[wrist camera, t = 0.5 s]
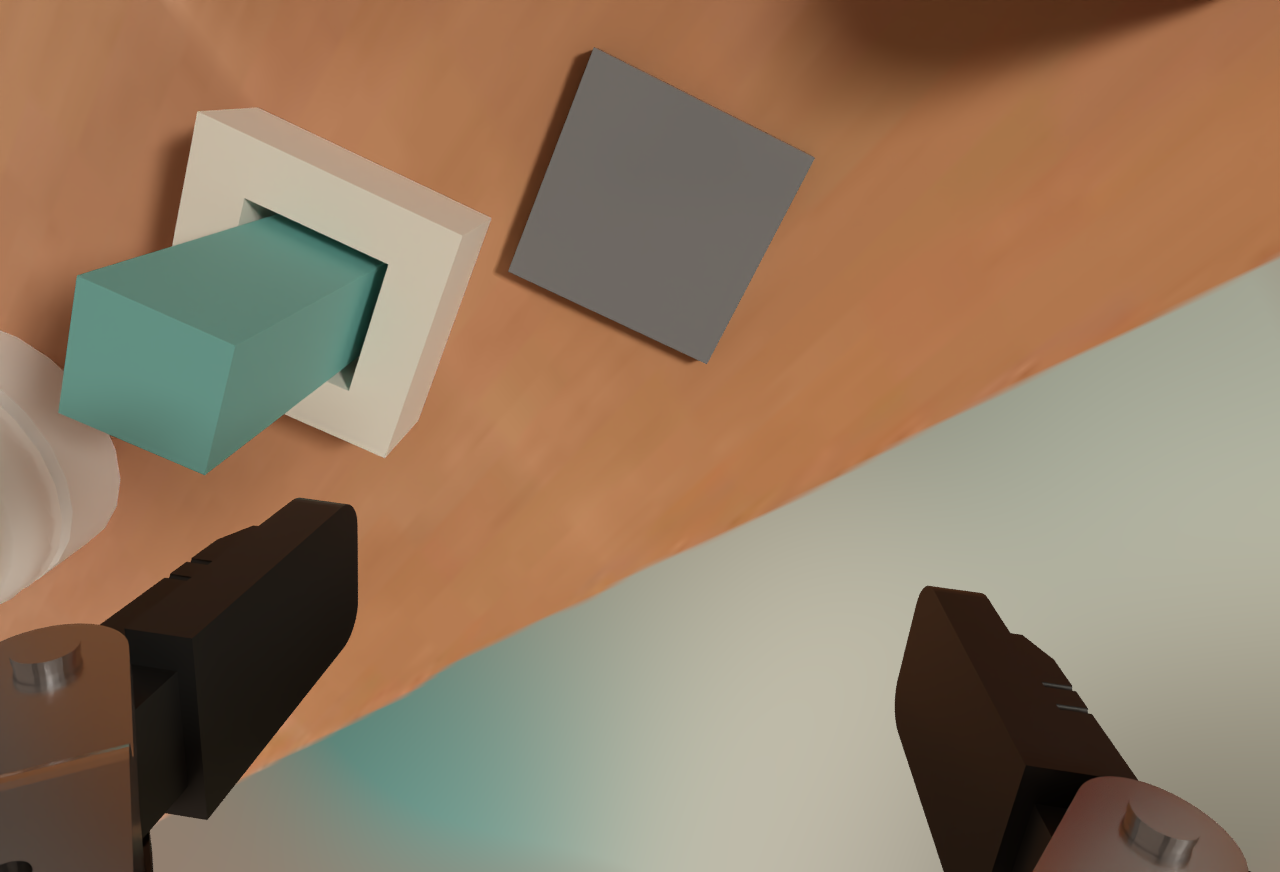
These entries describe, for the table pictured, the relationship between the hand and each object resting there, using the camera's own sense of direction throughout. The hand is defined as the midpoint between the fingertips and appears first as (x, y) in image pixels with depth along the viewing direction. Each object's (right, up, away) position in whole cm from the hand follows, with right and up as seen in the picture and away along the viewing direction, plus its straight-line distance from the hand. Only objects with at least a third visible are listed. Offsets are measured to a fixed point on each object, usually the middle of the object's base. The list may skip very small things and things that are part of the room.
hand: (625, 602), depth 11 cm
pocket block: (-12, +9, +23) cm, 27 cm away
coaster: (+1, +11, +21) cm, 23 cm away
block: (-12, +9, +23) cm, 27 cm away
